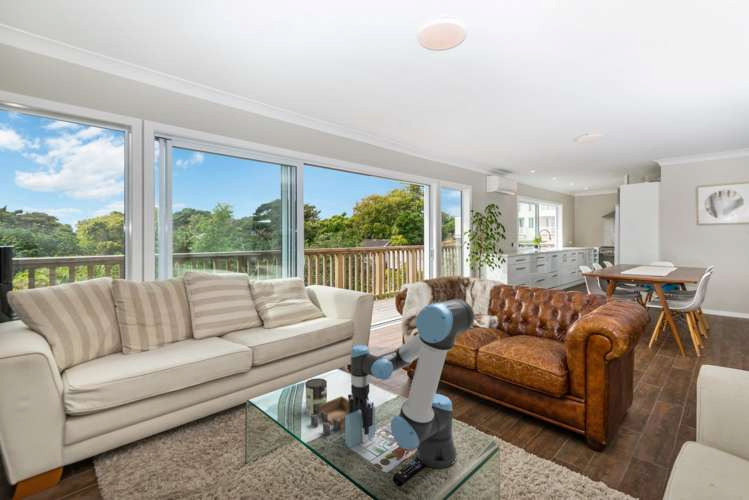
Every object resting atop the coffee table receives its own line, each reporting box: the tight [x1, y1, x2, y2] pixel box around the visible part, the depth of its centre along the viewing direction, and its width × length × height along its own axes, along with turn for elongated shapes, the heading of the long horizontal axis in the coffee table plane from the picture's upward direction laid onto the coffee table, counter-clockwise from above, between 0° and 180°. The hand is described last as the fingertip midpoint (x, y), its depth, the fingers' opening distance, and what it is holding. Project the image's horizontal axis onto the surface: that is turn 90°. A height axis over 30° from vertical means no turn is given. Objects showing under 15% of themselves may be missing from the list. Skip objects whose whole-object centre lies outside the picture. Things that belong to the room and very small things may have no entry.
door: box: [344, 405, 376, 448], centre depth 151 cm, size 14×3×12 cm, turn 134°
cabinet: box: [310, 395, 349, 436], centre depth 165 cm, size 17×20×6 cm
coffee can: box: [304, 378, 328, 417], centre depth 176 cm, size 10×10×14 cm
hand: (360, 438), depth 152 cm, fingers open, 5 cm apart
